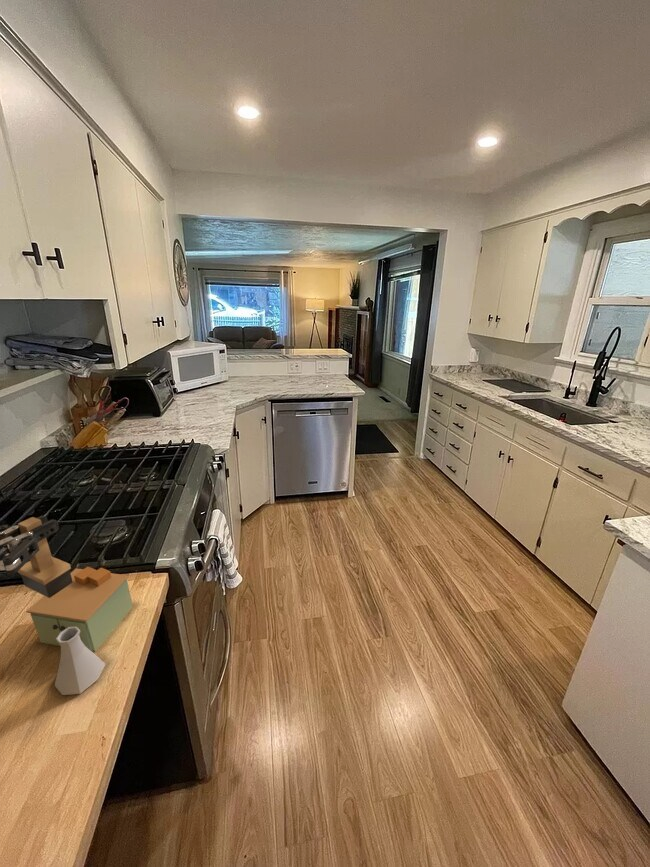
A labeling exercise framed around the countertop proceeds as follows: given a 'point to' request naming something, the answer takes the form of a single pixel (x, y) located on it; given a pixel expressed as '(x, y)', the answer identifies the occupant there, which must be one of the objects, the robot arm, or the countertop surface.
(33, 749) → the countertop surface
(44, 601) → the cabinet
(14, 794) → the countertop surface
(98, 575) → the block
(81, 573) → the crust
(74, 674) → the flask
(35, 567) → the brush
